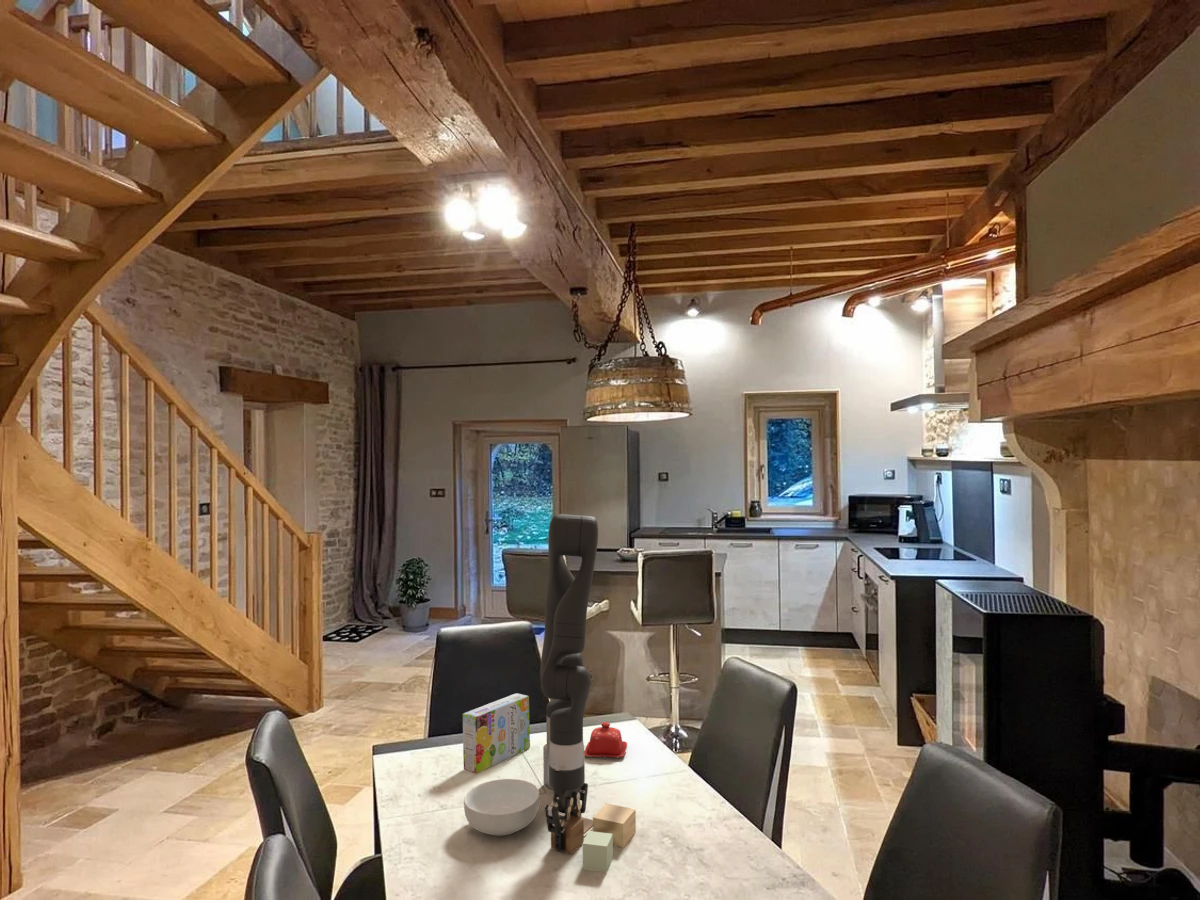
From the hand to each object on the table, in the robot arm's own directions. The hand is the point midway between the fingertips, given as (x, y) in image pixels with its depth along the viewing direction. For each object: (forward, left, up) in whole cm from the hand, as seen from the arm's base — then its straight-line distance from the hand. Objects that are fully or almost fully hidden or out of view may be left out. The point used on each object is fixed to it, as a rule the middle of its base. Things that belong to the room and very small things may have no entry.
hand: (567, 843), depth 146 cm
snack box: (-41, +30, -1) cm, 51 cm away
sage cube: (+9, -3, -1) cm, 10 cm away
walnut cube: (0, 0, 0) cm, 0 cm away
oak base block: (+7, +8, -1) cm, 11 cm away
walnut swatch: (-2, +8, 0) cm, 8 cm away
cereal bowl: (-17, 0, -1) cm, 17 cm away
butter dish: (-17, +48, -1) cm, 51 cm away
